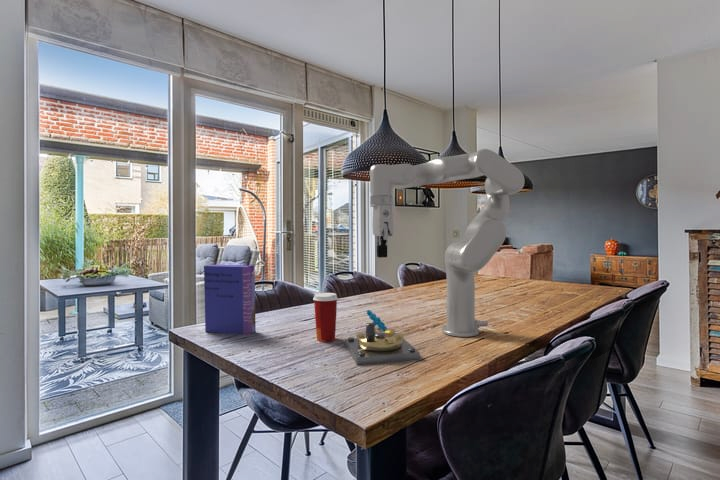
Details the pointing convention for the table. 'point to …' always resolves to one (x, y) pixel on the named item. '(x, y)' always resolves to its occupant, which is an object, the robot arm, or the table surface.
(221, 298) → the blue book
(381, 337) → the brass paddle wheel
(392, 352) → the base plate
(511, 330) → the table surface
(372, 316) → the gear
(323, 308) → the coffee cup
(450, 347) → the table surface
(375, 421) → the table surface
